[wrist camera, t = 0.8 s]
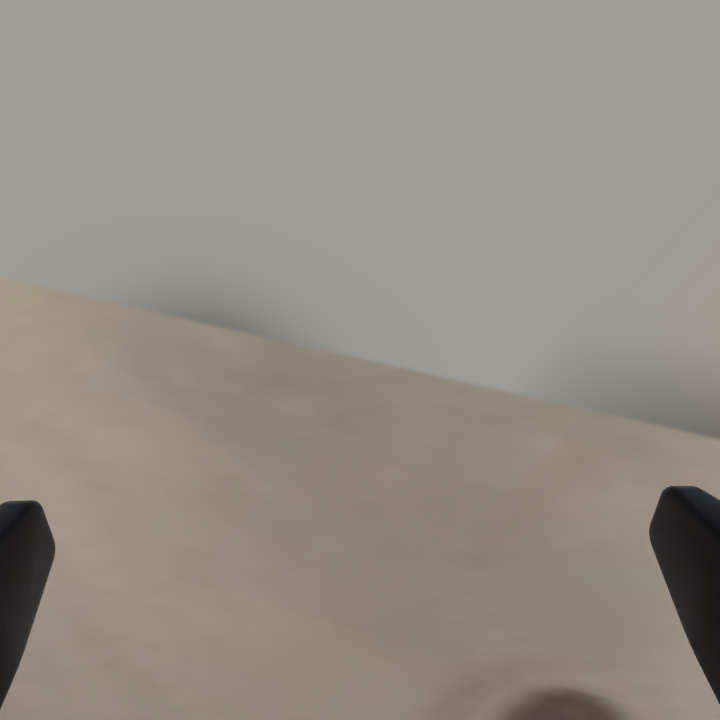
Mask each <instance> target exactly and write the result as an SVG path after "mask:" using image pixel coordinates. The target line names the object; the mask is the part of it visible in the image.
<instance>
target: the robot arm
mask: <svg viewBox="0 0 720 720" xmlns="http://www.w3.org/2000/svg"><path fill="white" fill-rule="evenodd" d="M649 535H650V541H651V545H652V547H653V550H654V553H655V555H656V558H657V560H658V563H659V566H660V568H661V571H662V574H663V576H664V579H665V581H666V584H667V587H668V589H669V592H670V594H671V597H672V600H673V602H674V605H675V608H676V610H677V613H678V615H679V618H680V621H681V623H682V626H683V628H684V631H685V633H686V635H687V638H688V640H689V643H690V645H691V647H692V649H693V651H694V653H695V655H696V657H697V660H698V662H699V664H700V666H701V668H702V670H703V672H704V674H705V676H706V678H707V680H708V682H709V684H710V686H711V688H712V690H713V692H714V694H715V696H716V698H717V700H718V702H719V704H720V500H718V499H717V498H715V497H713V496H712V495H710V494H708V493H706V492H705V491H703V490H701V489H700V488H698V487H695V486H670V487H667V488H665V489H664V490H663V491H662V493H661V496H660V499H659V502H658V504H657V507H656V510H655V513H654V516H653V519H652V521H651V524H650V530H649ZM54 555H55V542H54V538H53V536H52V533H51V530H50V527H49V524H48V522H47V519H46V516H45V513H44V511H43V508H42V506H41V505H40V504H39V503H38V502H36V501H9V502H5V503H3V504H1V505H0V708H1V706H2V704H3V702H4V699H5V697H6V695H7V692H8V690H9V688H10V686H11V683H12V681H13V678H14V676H15V674H16V671H17V669H18V666H19V664H20V661H21V658H22V655H23V652H24V650H25V647H26V644H27V641H28V637H29V634H30V631H31V628H32V625H33V622H34V619H35V616H36V613H37V609H38V606H39V603H40V600H41V597H42V594H43V591H44V588H45V585H46V582H47V578H48V575H49V572H50V569H51V566H52V563H53V560H54Z"/></svg>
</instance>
